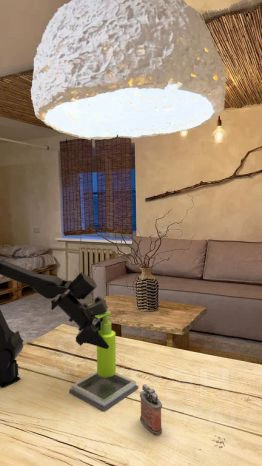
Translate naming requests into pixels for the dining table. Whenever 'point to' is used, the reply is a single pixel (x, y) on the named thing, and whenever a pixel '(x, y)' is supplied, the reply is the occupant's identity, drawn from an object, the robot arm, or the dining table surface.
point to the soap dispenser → (106, 356)
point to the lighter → (150, 410)
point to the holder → (103, 390)
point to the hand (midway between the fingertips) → (109, 343)
